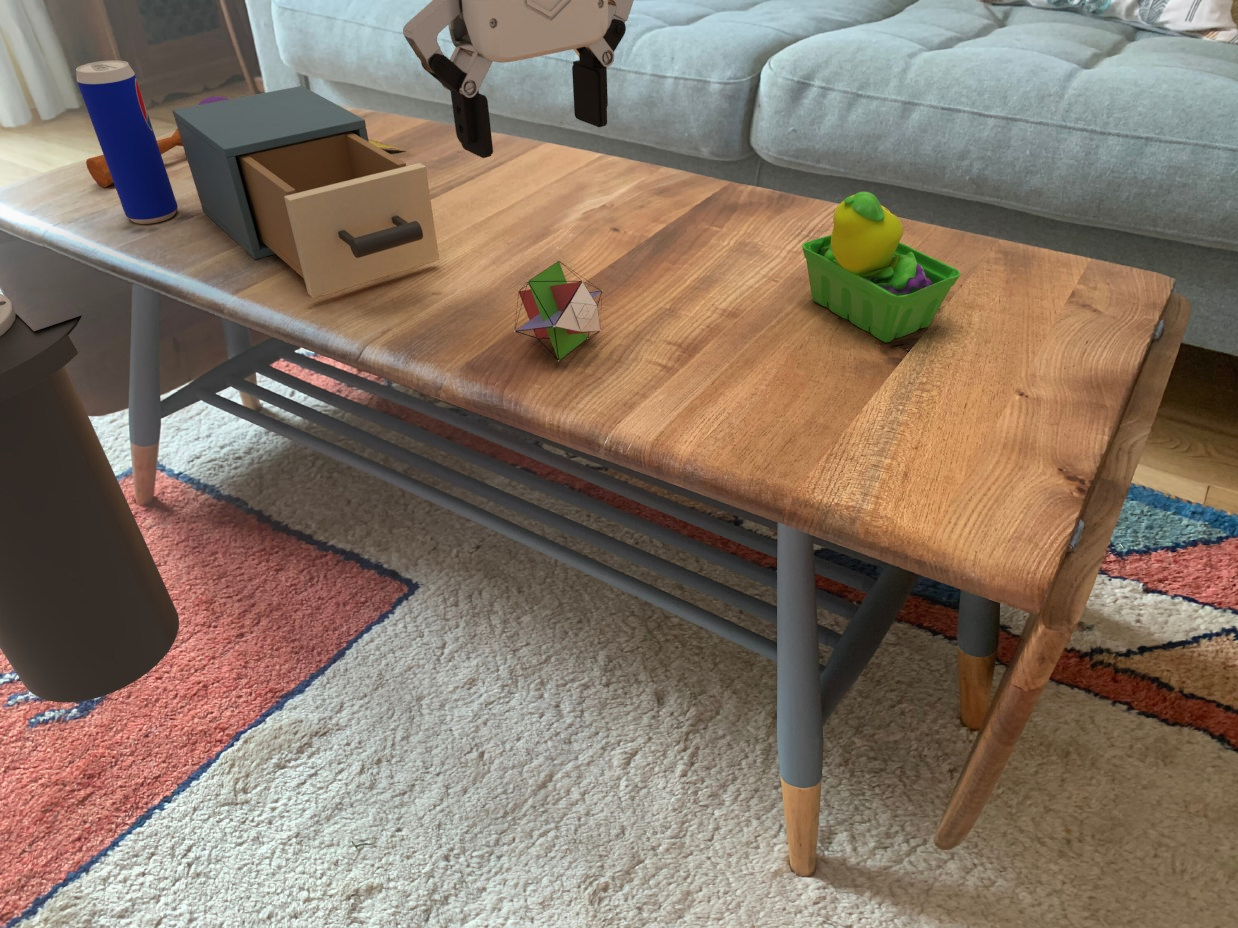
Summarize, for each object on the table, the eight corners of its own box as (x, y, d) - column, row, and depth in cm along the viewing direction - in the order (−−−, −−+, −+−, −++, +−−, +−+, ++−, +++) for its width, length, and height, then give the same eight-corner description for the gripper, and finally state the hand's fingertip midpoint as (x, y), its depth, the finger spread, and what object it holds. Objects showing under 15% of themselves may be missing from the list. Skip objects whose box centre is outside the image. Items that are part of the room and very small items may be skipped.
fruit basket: (953, 329, 74) (985, 195, 67) (875, 359, 70) (900, 221, 63) (855, 277, 81) (875, 153, 75) (780, 303, 78) (793, 174, 71)
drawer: (462, 275, 81) (450, 179, 75) (333, 317, 75) (310, 216, 69) (371, 213, 93) (355, 127, 87) (253, 245, 87) (228, 154, 81)
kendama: (69, 147, 101) (215, 91, 113) (98, 198, 104) (237, 138, 117) (95, 146, 98) (242, 88, 110) (123, 199, 101) (263, 137, 113)
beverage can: (187, 215, 95) (140, 65, 86) (139, 229, 92) (84, 76, 83) (167, 203, 98) (118, 57, 89) (119, 216, 95) (64, 66, 86)
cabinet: (384, 224, 93) (365, 119, 86) (254, 260, 86) (223, 149, 80) (323, 182, 102) (302, 85, 96) (203, 211, 96) (171, 110, 90)
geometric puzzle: (480, 324, 71) (522, 262, 65) (531, 290, 76) (575, 229, 70) (542, 390, 71) (590, 334, 65) (589, 352, 76) (638, 297, 70)
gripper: (411, -144, 46) (456, 180, 57) (665, -163, 55) (663, 123, 65) (350, -149, 51) (401, 151, 62) (591, -165, 59) (601, 102, 70)
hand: (536, 137), depth 63 cm, fingers open, 9 cm apart
